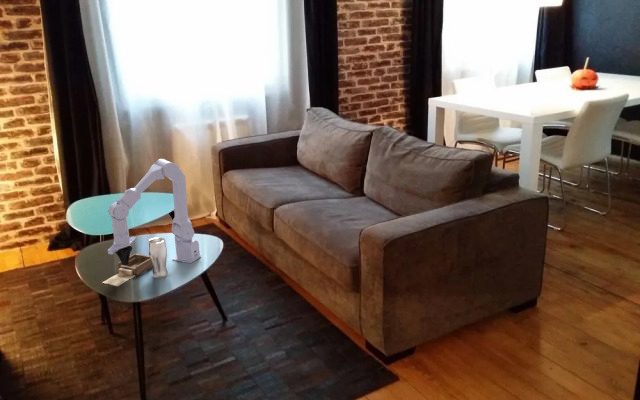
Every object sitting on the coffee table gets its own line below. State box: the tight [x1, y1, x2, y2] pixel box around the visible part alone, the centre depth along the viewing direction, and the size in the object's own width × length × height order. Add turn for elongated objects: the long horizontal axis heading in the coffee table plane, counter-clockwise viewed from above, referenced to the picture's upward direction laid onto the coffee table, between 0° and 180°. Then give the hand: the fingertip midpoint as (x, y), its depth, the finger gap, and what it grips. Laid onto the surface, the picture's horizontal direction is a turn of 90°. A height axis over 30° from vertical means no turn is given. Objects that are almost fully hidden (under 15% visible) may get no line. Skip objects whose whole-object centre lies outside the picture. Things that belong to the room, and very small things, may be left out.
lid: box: [101, 268, 136, 287], centre depth 240 cm, size 8×10×3 cm
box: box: [117, 253, 153, 277], centre depth 249 cm, size 10×11×4 cm
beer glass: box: [147, 236, 169, 279], centre depth 241 cm, size 7×7×15 cm
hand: (125, 264), depth 243 cm, fingers closed
